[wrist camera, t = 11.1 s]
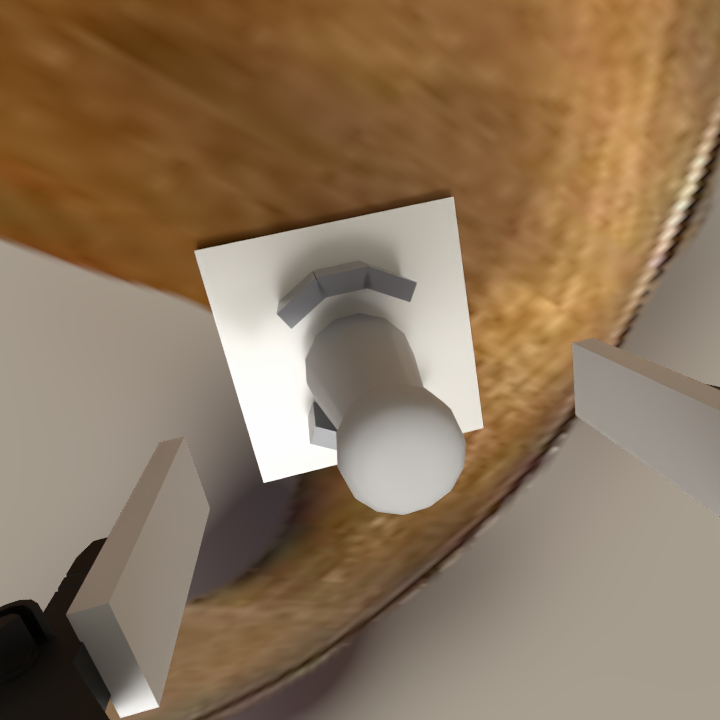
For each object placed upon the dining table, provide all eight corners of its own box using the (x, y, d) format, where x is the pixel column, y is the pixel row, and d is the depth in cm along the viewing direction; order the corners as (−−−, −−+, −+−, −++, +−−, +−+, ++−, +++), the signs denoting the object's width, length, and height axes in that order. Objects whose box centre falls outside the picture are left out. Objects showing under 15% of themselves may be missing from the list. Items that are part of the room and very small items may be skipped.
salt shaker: (376, 417, 28) (443, 568, 16) (288, 381, 27) (284, 518, 14) (420, 330, 27) (529, 420, 15) (330, 288, 26) (366, 349, 13)
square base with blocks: (264, 476, 29) (259, 517, 25) (196, 249, 25) (178, 255, 21) (478, 422, 30) (507, 453, 26) (448, 197, 26) (478, 192, 22)
